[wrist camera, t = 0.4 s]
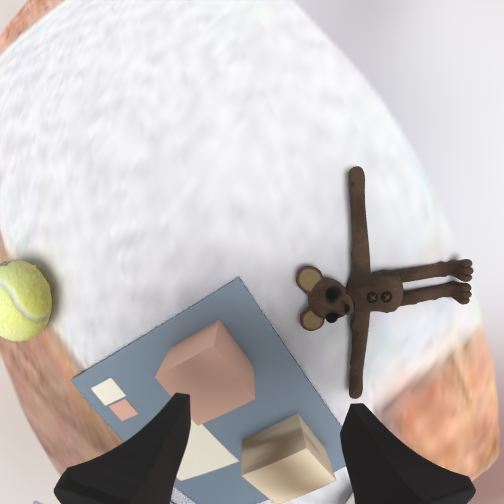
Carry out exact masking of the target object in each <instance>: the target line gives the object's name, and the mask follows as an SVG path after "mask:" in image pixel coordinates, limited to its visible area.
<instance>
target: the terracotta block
mask: <svg viewBox="0 0 504 504" xmlns="http://www.w3.org/2000/svg"><path fill="white" fill-rule="evenodd" d="M155 378H156V379H157V380H158V382H159V383H160V384H161V385H162V386H163V388H164V389H165V390H166V391H167V392H168V394H169V395H170V396H171V397H172V396H173V395H174V394H175V393H176V392H177V393H184V394H190V410H191V419H192V420H193V421H194V422H195V424H196V425H197V426H199V425H201V424H203V423H205V422H208V421H210V420H212V419H214V418H217V417H219V416H221V415H223V414H225V413H228V412H230V411H232V410H234V409H236V408H238V407H240V406H242V405H244V404H246V403H248V402H250V401H252V400H254V399H255V382H254V366H253V365H252V363H251V362H250V361H249V359H248V358H247V357H246V355H245V354H244V352H243V351H242V350H241V348H240V347H239V346H238V344H237V343H236V341H235V340H234V339H233V337H232V336H231V335H230V333H229V332H228V330H227V329H226V328H225V326H224V325H223V323H222V322H221V321H220V319H219V320H217V321H216V322H214V323H212V324H210V325H209V326H207V327H205V328H204V329H202V330H200V331H199V332H197V333H195V334H193V335H192V336H190V337H188V338H187V339H185V340H183V341H181V342H180V343H178V344H176V345H174V346H173V347H171V348H170V349H169V351H168V353H167V355H166V357H165V359H164V360H163V362H162V364H161V366H160V368H159V370H158V372H157V374H156V376H155Z"/></svg>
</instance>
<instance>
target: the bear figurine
mask: <svg viewBox="0 0 504 504" xmlns="http://www.w3.org/2000/svg"><path fill="white" fill-rule="evenodd" d="M349 187H350V202H351V219H352V236H353V248H352V253H351V254H352V260H353V274H352V276H351V278H350V280H349V282H348V285H347V290H346V288H345V287H344V286H343V285H341V284H340V283H339V282H338V281H336V280H333V279H329V278H323V276H322V274H321V272H320V270H318V269H317V268H315V267H311V266H306V267H303V268H301V269H300V270H299V271H298V273H297V277H296V282H297V285H298V287H299V288H300V289H301V290H302V291H304V292H305V293H307V294H308V297H309V305H310V308H309V309H307V310H306V311H304V312H303V313H302V315H301V317H300V324H301V326H302V327H303V328H304V329H306V330H309V331H314V330H317V329H319V328H320V327H321V326H322V325H323V323H324V319H326V320H327V321H328V322H329V323H334V322H336V321H337V319H338V318H340V317H343V316H345V315H350V314H352V315H353V316H352V319H351V322H350V327H351V328H352V354H351V361H350V365H351V368H350V384H349V395H350V397H351V398H353V399H357V398H359V397H360V396H361V394H362V391H363V367H364V359H365V352H366V344H367V336H368V328H369V318H370V312H371V311H380V312H385V313H388V312H393V311H395V310H396V309H397V308H398V307H399V306H404V305H413V304H417V303H418V302H423V301H427V300H436V299H438V298H441V297H452V298H454V299H455V300H456V301H457V302H459V303H460V304H467V303H469V301H470V300H469V297H471V295H472V293H471V292H470V290H471V286H470V284H468V283H461V282H456V281H451V282H448V283H446V284H443V285H438V286H434V287H429V288H424V289H419V290H414V291H409V292H404V293H403V284H402V283H404V282H410V281H415V280H421V279H427V278H433V277H446V276H447V275H452V276H454V277H456V278H458V279H459V280H461V281H464V282H468V281H470V280H471V279H472V276H471V275H470V274H472V273H473V269H472V268H471V266H472V261H471V260H469V259H463V260H459V261H457V260H453V261H449V262H447V263H446V262H439V263H437V264H435V265H430V266H423V267H416V268H410V269H403V270H396V271H386V270H382V271H380V272H377V273H372V274H371V273H370V255H369V242H368V231H367V221H366V210H365V175H364V171H363V169H362V168H361V167H359V166H356V167H353V168H352V169H351V170H350V171H349Z"/></svg>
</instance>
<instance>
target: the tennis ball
mask: <svg viewBox="0 0 504 504" xmlns="http://www.w3.org/2000/svg"><path fill="white" fill-rule="evenodd" d="M50 288H51V287H50V283H49V281H48V280H46V279H45V278H44V276H43V274H42V273H41V272H40V271H39V270H38V269H37V268H36V265H32V264H30V263H28V262H25V261H22V260H11V261H4V262H3V263H1V264H0V336H1V337H3V338H5V339H8V340H11V341H17V342H18V341H26V340H29V339H31V338H33V337H35V336H37V335H39V334H40V333H44V328H45V327H46V325H47V324H48V321H49V319H50V314H51V309H52V297H51V292H50Z"/></svg>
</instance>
